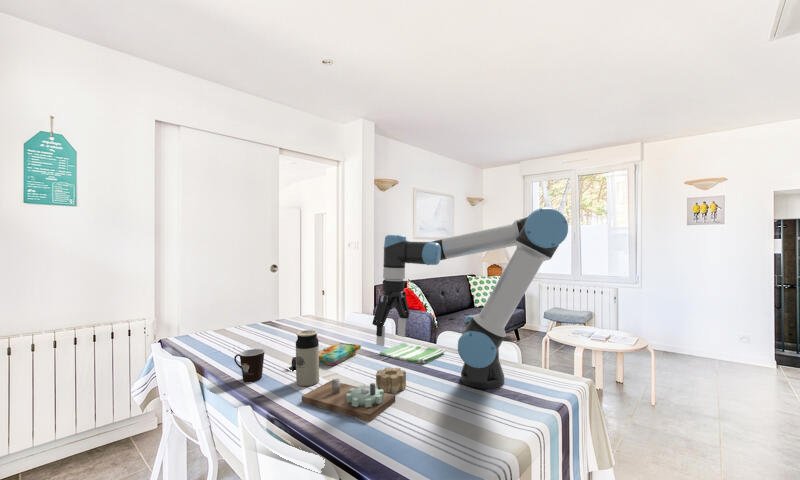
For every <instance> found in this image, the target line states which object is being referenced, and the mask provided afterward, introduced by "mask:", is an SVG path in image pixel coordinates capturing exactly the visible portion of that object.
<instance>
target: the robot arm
mask: <svg viewBox="0 0 800 480" xmlns="http://www.w3.org/2000/svg"><path fill="white" fill-rule="evenodd" d="M568 233H569V223H568V221H567V219H566V217H565V215H564V214H563V213H561V212H560V211H559V210H557V209H555V208H551V207H540V208H537V209H536V210H535V209H534V211H532V212H531V213H530V214H529V215H528V216H526V217H524V218H520V219H516V220H514V221H513V223H511V224H506V225H501V226H497V227H493V228H488V229H484V230H478V231H473V232H470V233H469V232H468V233H464V234H460V235H455V236H451V237H446V238H442V239H436V240H431V241H410V240H409V241H408V240H407V237H406V235H400V234H397V235H396V234H387V235H386V236H385V237H384V243H383V268H382V271H383V272H382V273H383V274H382V278H383V280H382V288H381V289H382V291H383V292H384V295H382V294H381V295H379V296H378V304H377V305H376V310H375V314H374V317H373V319H372V325H373V326H376V341H375V343H376V344H375V345H376V346H380V347H385V341H386V340H385V335H386V326H385V323H386V320H387V318H388V316H389V314H390V311H391V310H392V309H393V308H395V309H396V312H397V314H398V315H399V317H398V320H397V337H398V336H399V337H402V338H406V327H407V326H406V324H407V323H406V321H407V319H409V317H410V310H409V304H408V300H407V292H406V291H405V278H406V276H405V275H406V273H405V272H406V264H415V265H425V266H426V265H427V266H437V265H439V263H440V262H441V261H444V260H448V259H449V260H450V259H454V258H459V257H465V256H469V255H474V254H479V253H484V252H489V251H494V250H495V251H496V250H500V249H505V248H510V247H516V249H515V251H514V252H513V254H512V256H511V258H510V259H509V261H508V263H507V265H506V267H505V268H504V270H503V272H502V274H501V275H500V277H499V279H498V281H497V283H496V284H495V286H494V288H493V290H492V291H491V293H490V294H489V296H488V299H487V300H486V302H485V304H484V305H483V307H482V309H481V311H480V313H477V314H473V315H470V314H469V315H466V316H465V317H464V331H463V332H462V334H461V336H460V337H458V338H459V339H458V341H457V352H458V356H459V358H460V359H461V360H462V361H463V362H464V363H463V365H462V369H461V373H460V380H461V383H463V384H464V385H466V386H469V387H472V388H475V389H483V390H484V389H485V390H486V389H496V388H500V387H502V386H503V385H504V384H505V373H504V370H503V367H502V365H501V362H500V353H499V352H500V349H499V348H500V346H501V345H502V343H503V341H504V339H505V338H506V337H507V333H506V330H505V327H506V326H507V324H508V323H509V321H510V319H511V317H512V316H513V313H514V312H515V310H516V309H517V307H518V305H519V304H520V302H521V300H522V298H523V297H524V295H525V293H526V291H527V290H528V288H529V287H530V285H531V284H532V282H533V280H534V278H535V277H536V274H537V273H538V272H539V270H540V268H541V266H542V264H543V262H545V261H549V260H552V258H553V256H554V255H555V253H556V251H557V250H558V247H559V246H560V245H561V244H562V243H563V242H564V241H565V240H566V238H567V236H568Z"/></svg>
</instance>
